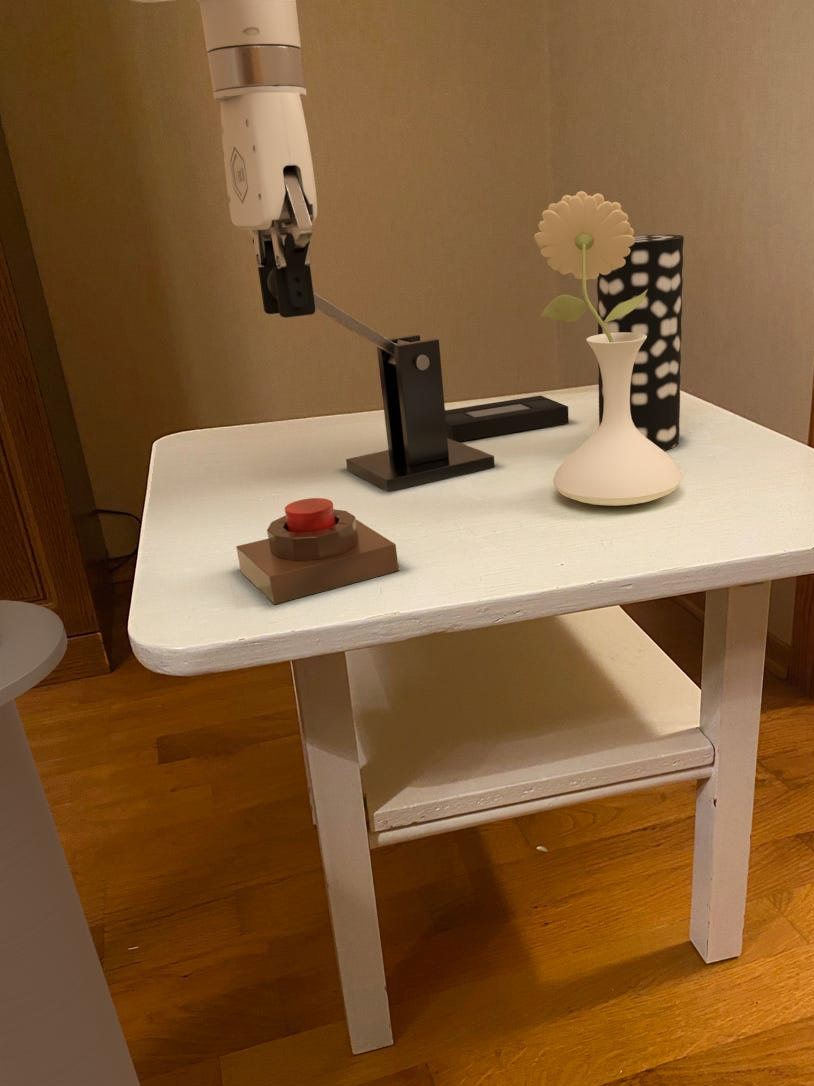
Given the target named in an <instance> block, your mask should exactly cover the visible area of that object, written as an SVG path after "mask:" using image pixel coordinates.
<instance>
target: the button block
mask: <svg viewBox="0 0 814 1086" xmlns="http://www.w3.org/2000/svg"><path fill="white" fill-rule="evenodd" d="M333 509H334V516H335V523H336V525H334V526H332V527H330V528H328V529H324V530H320V531H316V532H304V533H297V532H290V531H288V526H287V520H286V514H284V515H283V516H281V517H279V518H277V519H275V520H272V522H270V524H269V526H268V527H267V529H266V532H267V537H268V538H264V539H261V540H260V539H259V540H256V541H252V542H249V543H245V544H240V545H236V547H235V548H236V552H237V559H238V563H239V568H240V569H239V570H240V572H241V574H243V575H244V576H245V577H246V578H247V579H248V580H249V581H250V582H251V583H252V584H253V585H254V587H256V588H257V589H258V590H259V591H260V592H261V593H262V594H263V595H264V596H265V597H266V598H267V599H268V600H269V601H270V602H271V603H272V604H273V605H279V604H283V603H285V602H289V601H294V600H296V599H297V600H298V599H300V598H303V597H304V598H305V597H308V596H312V595H315V594H319V593H322V592H326V591H329V590H334V589H337V588H340V587H344V586H349V585H351V584H355V583H359V582H363V581H366V580H370V579H373V578H377V577H381V576H384V575H388V574H391V573H395V572H399V562H398V554H397V553H398V551H397V545H396V543H395V542H393V541H392V540H389V539H388V538H386V537H385V536H383V535H382V534H380V533H378V532H377V531H376V530H374V529H373V528H371V527H369V526H367V524H365V523H363V522H361V521H359V520H358V519H357V518H356V516H355V515H353V514H352V513H350V512H349V511H347V510H342V509H335V508H333Z"/></svg>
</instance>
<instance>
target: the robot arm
mask: <svg viewBox="0 0 814 1086" xmlns="http://www.w3.org/2000/svg"><path fill="white" fill-rule="evenodd" d="M171 1H172V2H173V1H175V0H131V2H136V3H163V2H171ZM195 1H196V2H197V3H198V4H199V8H200V15H201V22H202V29H203V35H204V41H205V42H204V43H205V49H206V54H207V62H208V67H209V73H210V79H211V80H210V81H211V86H212V92H213V100H214V101H215V102H217V103H220V127H221V129H220V130H221V144H222V154H223V155H222V156H223V163H224V164H223V166H224V172H225V173H224V174H225V181H226V190H227V191H226V192H227V199H228V207H229V215H230V220H231V222H232V224H233V225H234V226H235V228H236V229H239V230H242V231H243V230H244V231H245V230H246V231H248V234H249V235H250V237H251V238H252V244H253V246H254V255H255V262H256V265H257V266H258V267H257V271H258V277H259V285H260V291H261V299H262V307H263V312H264V313H265V314H267V315H276V314H278V315H279V316H280V317H282V318H286V319H287V318H294V317H302V316H311V315H314V314H316V309H315V302H314V294H313V293H314V285H313V279H312V271H311V263H312V259H311V252H310V247H309V246H310V245H311V241H310V240H311V239H312V236H313V234H314V226H313V224H314V222H315V221H316V219H317V217H318V199H317V187H316V179H315V173H314V165H313V158H312V151H311V145H310V139H309V135H308V134H309V133H308V128H307V123H306V119H305V113H304V109H303V104H302V99H304V98H306V97H307V96H308V94H307V87H306V79H305V78H306V77H305V71H304V63H303V62H304V61H303V60H304V59H303V52H302V43H301V34H300V27H299V25H300V24H299V16H298V8H297V1H296V0H195ZM275 266H277V267H278V269H273V268H274V267H275ZM272 269H273V273H274V280H275V287H276V294H277V299H276V298H275V297H274V296H273V295H272V294H271V293H270V291H269V288H268V284H267V279H268V275H269V273H270V271H271V270H272Z"/></svg>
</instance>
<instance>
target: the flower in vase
mask: <svg viewBox="0 0 814 1086" xmlns="http://www.w3.org/2000/svg"><path fill="white" fill-rule="evenodd" d="M541 217H542V219H543V220H541V221H540V222H538V224H537V225H538V226H537V227H538V229H539V231H538V232H536V233H535V234H534V236H533V237H534V241H535V242H536V245H537V246H538V247H539V248H540V251H539V253H540V254H541V256H542V257H544V258H548V259H547V261H546V263H547V265H548V266H549V267H551V269H553V271H557V272H559V274H561V275H568V274H569V273H570V274H572V275H573V277H574V278H575V279H577V280H581V282H582V283H581V285H582V295H583V298H584V300H583V299H581V298H578V297H575V296H573V295H569V294H560V295H558V296H556V297H555V298H553V299H552V300H551V301H550V302H548V303H549V304H547V306H546V307H545V308H544V310H543V311H542V312H541V314H540V318H546V319H553V320H557V321H562V322H568V323H569V322H570V323H574V322H577V321H579V320H580V318H582V316H583V315H584V313H585V312H586V311H587V310H588V309H589V311H590V312H591V314H592V315H593V317H594V318H595V320H596V322H597V324H598V323H599V324H600V325H601V327H602V329H603V330H604V332H605V334H599V335H598V334H594V335H591V336H588V337H587V338H586V339H585V341H586V343H587V344H588V346H590V348H591V349H592V351H593V354H594V355H595V357H596V360H597V364H598V363H599V366H600V370H601V375H602V382H603V393H604V412H603V418H602V422H601V425H600V427H599V426H598V428H597V430H596V431H595V432H594V433H593V434H592V436H590V437H589V438H588V439H587V440H586V441H585V442H584V443H583V444H581V445H580V446H579V447H577V449H575V450H574V451H573V452H572V453H571V454H570V455H569V456H568V457H566V459H564V460H563V462H562V463H561V464H560V465H559V466H558V468H557V469H556V471H555V474H554V477H553V478H552V479H553V480H552V483H553V485H554V487H555V488H556V489H557V491H558V492H559V493H560V494H561V495H563V496H564V497H566V498H568V499H572V500H574V501H576V502H577V501H578V502H581V503H585V504H589V505H595V506H615V507H616V506H630V505H637V504H645V503H648V502H651V501H652V502H653V501H655V500H657V499H659V498H663V497H665V496H668V495H670V494H671V493H673V492H674V491H676V490H677V488H678V487H679V486H680V484H681V483H682V481H683V480H684V479H683V478H684V477H683V473H682V471H681V468H680V465H679V464H678V462H676V461H675V460H674V458H673V457H671V456H670V455H669V454H668V453H667V452H666V451H665V450H664V451H663V450H662V449H660V448H659V447H658V446H657V445H655V444H654V443H653V442H651V441H650V440H649V439H647V438H646V437H645V436H644V435H643V434H641V433H640V432H639V431H638V429H637V428H636V427H635V426H634V423H633V421H632V418H631V413H630V384H631V375H632V370H633V365H634V361H635V358H636V355H637V353H638V351H639V349H640V347H641V345H642V344H643V342H644V341H645V340H646V338H647V336H646V335H645V334H641V333H632V332H619V333H610V332H609V330H608V329H607V327H606V325H605V324H604V322H609V321H612V320H614V319H618V318H620V317H623V316H625V315H626V314H628V313H630V312H631V311H632V310H634V309H635V308H636V307H637V306H638V305H639V304H640V303H641V301H642V300H643V298H644V297H645V295H646V292H647V290H648V289H647V290H646V291H645V292H643V293H642V294H641V295H639V296H637V297H635V298H633V299H630V300H628V301H625V302H623V303H621V304H619V305H618V306H616V307H615V308H614V309H613V310H612V311H611V312H610V314H609V315H608V316H607V318H606V319H605V321H604V322H603V321H602V319H601V318H600V317H599V315H598V314H597V310H596V308H595V307H594V306H593V305H592V303H591V300H590V298H589V295H588V291H587V280H597V277H598V276H599V273H601V274H603V275H607V274H609V273H610V272H611V270H615V269H617V268H620V267H622V266H624V265H625V263H626V261H625V259H624V258H623V257H625V256H628V255H629V254H630V248H629V247H630V246H632V245H633V244H634V243H635V238H634V237H633V236H634V233H635V231H634V228H632V227H631V223H630V222H629V215H628V213H626V212H624V211H623V210H622V204H621V203H619V202H617V201H614V202H611V201H609V200H606V201H605V197H604V195H603V194H601V193H595V194H594V195H588V194H587V192H585V191H582V190H580V191H578V192H576V194H575V195H572V196H571V195H570V194H564V195H563V196H562V197H561V199H560V200H559V201H558V202H556V203H553V202H552V203H550V204H549V205H548V207H547V209H545V210H543V211H542V213H541Z"/></svg>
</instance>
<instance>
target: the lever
mask: <svg viewBox="0 0 814 1086" xmlns="http://www.w3.org/2000/svg"><path fill="white" fill-rule="evenodd" d="M273 269H278V267H277V266H275V267H274V268H273ZM273 269H272V270H271V271H270V273H269V275H268V279H267V284H268V288H269V291H270V293H271V294H272V295H273V296H274V297H275V298H276V299H277V294H276V287H275V280H274V273H273ZM313 294H314V302H315V310H317V311H319V312H320V313H321V314H323V315H325V316H327V317H328V318H329V319H331V320H334V321H335V322H337V323H338V324H340V325H342V326H343V327H345V329H348V330H350V331H351V332H353V333H354V334H356V335H358V336H359V337H361V338H363V339H364V340H366V341H368V342H369V343H370V344H372V345H374V346H376V348H377V347H379V348H381V349H382V350H384V351H386V352H387V353H389V354H390V355H391V356H390V358H389V360H388V363H390V364H392V365H393V366H395V367H396V362H395V353H394V345H397V344H403V343H409V342H406V341H402V340H398V342H397V344H395V343H394V342H392V341H390V340H389V339H390V338H387V337H386V336H384V335H383V334H381V333H379V332H377V331H376V330H375V329H373V328H371V327H370V326H368V325H366V324H365V323H364V322H362V321H360V320H359V319H357V318H355V317H354V316H352V315H350V314H349V313H347V312H345V311H344V310H342V309H341V308H339V307H337V306H336V305H334V304H332V303H331V302H329V301H328V300H326V299H325V298H323V297H322V296H320V295H318V294H317V293H315V292H313Z"/></svg>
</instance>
